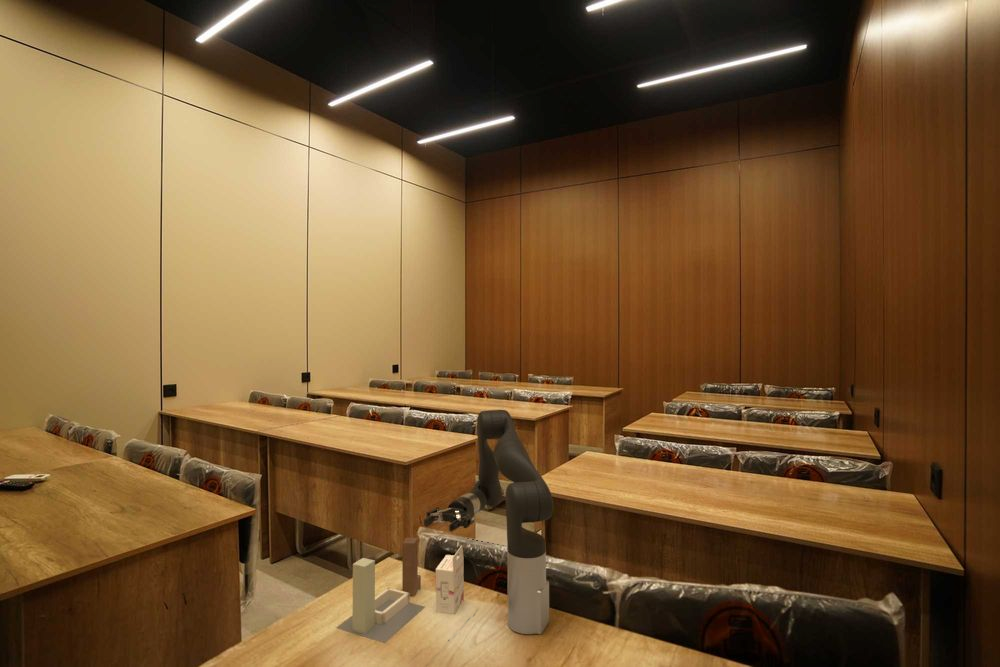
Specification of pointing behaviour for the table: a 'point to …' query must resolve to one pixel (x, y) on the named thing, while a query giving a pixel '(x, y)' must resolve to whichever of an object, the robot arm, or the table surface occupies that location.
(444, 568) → the ink cartridge box
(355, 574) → the sage pillar
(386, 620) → the base plate
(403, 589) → the wooden block
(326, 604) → the table surface
